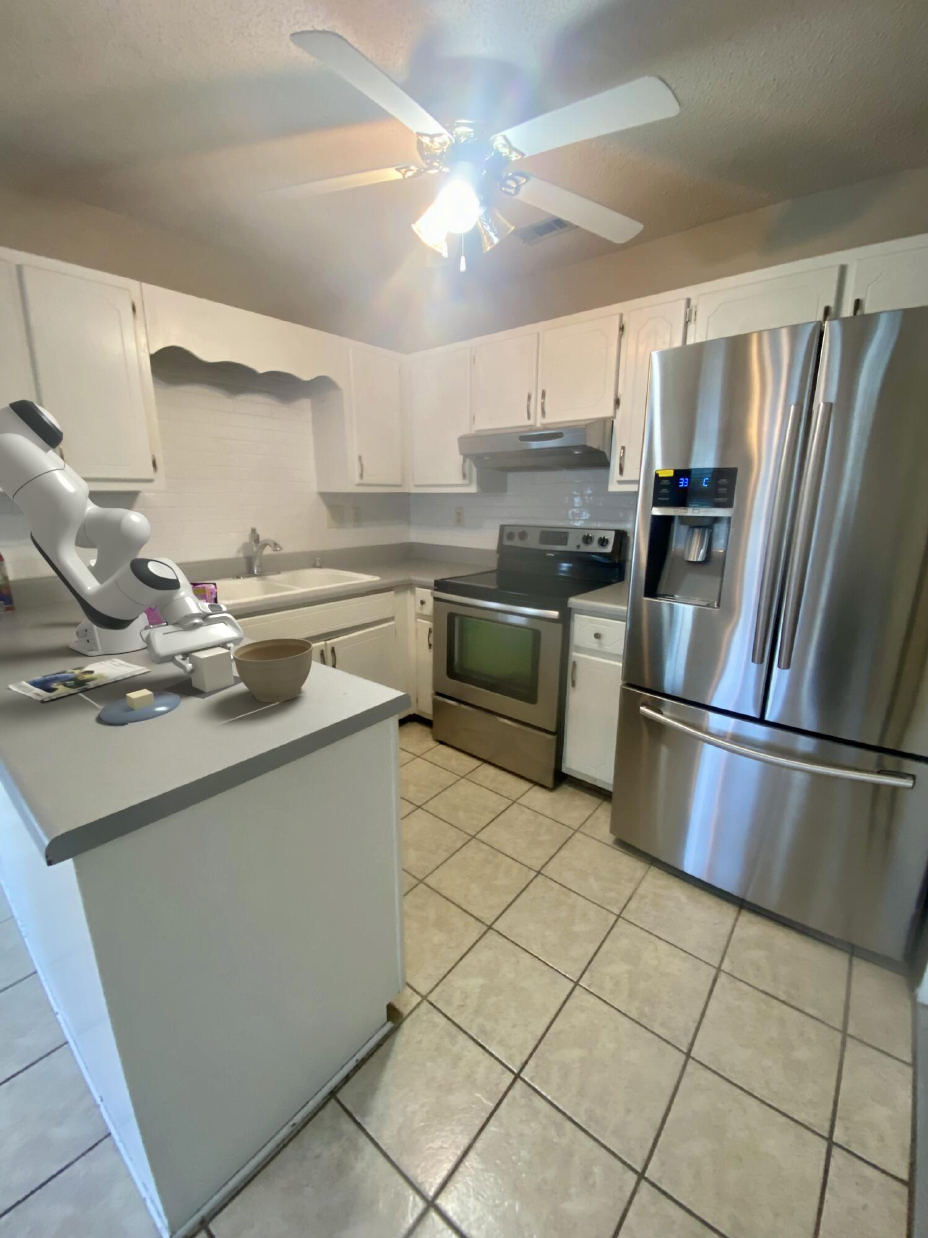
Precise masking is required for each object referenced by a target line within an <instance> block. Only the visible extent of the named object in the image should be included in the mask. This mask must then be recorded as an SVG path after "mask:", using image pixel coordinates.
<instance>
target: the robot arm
mask: <svg viewBox="0 0 928 1238" xmlns="http://www.w3.org/2000/svg"><path fill="white" fill-rule="evenodd" d="M63 439H64V432H63V431H62V429H61V425H60V424H59V422H58V420H57V419H56V417H55V416H54V415H53V414H51V413H50V411H48V410H47V409H46V408H44V407H43V406H41V405H39V404H36V403H35V402H34V401H31V400H28V399H20V400H17V401H16V400H15V401H12V402H10V403H8V406H6V407H5V406H4V407H2V408H0V489H1V490H2V491H3V492H4V493H5V494H6V495H7V496H8V497H9V498H10V499H11V500H12V501H13V503H15V504H16V505H17V506H18V507H19V509H20V510H21V511H22V513H23V514H24V516H25V518H26V521H27V522H28V525H29V528H30V534H29V536H30V540H31V542H32V544H33V545H34V547H35V548H36V550H37V551H38V552H39V554H40V555H41V557H42V558H43V559H44V561H46V563H47V564H48V565H49V567H50V568H51V570H53V572H54V573H55V574H56V576H57V577H58V578H59V579H60V581H61V582H62V583H63V585H64V587H66V588H67V590H69V592H70V593H71V594H72V596H73V597H74V598H75V600H76V602H77V603H78V604H79V606H80V608H81V610H82V612H83V613H84V615H85V618H84V619H83V620H82V621H81V622H80V623H79V624H78V625H77V627H76V630H75V635H76V637H77V640H75V641H73V642H70V643H68V648H69V649H72V650H74V651H77V652H79V653H81V654H84V656H85V655H86V656H88V657H92V656H93V657H94V656H101V655H113V654H121V653H122V654H123V653H127V652H135V651H138V650H142V649H145V648H147V651H148V654H149V658H150V661H151V662H153V663H154V664H155V665H156V664H157V665H163V664H166V663H170V662H172V663H173V665H174V666H176V667H177V668H179V669H180V670H182V671H183V673H184V674H185V676H188V675H191V674H193V673H194V667H193V665H192V664H189V663H186V662H185V661H184V660H183V659H186V658H187V657H189V656H188V652H193V651H197V650H201V649H205V648H209V647H214V646H218V647H220V648H223V649H226V650H229V651H231V660H232V664H233V663H234V664H235V660H234V658H233V652H234V649H235V648H234V647H236V646H239V645H240V644H241V643H242V642H243V639H244V637H245V633H244V630H243V629H242V628H241V625H240V624H239V623H238V622H237V619H235V617H234V616H233V615H231V614H230V613H227V612H228V608H227V606H226V605H224V604H222V603H218V604H213V603H206V602H200V601H199V599H198V598H197V597H196V596H195V595H194V594H193V591H192V587H191V585H190V583H191V582H189V580H188V578H187V577H186V575H185V574H184V572H183V571H182V570H181V568H180V567H179V566H178V565H177V564H176V563H175V562H174V561H173V560H172V559H170V558H167V557H154V558H146V557H139V554H140V552H141V550H142V548H143V547H145V545H146V544H147V543H148V542H149V541H150V538H151V534H152V529H151V524H150V522H149V519H147V518H146V516H145V515H143V514H142V513H141V512H139V511H138V512H137V511H134V510H130V509H127V508H122V507H118V508H117V507H116V508H115V507H100V506H98V505H97V504H95V503H93V502H92V500H91V499H90V498H89V495H90V487H89V485H88V483H87V481H85V480H84V479H83V478H82V476H80V475H79V474H78V473H77V472H76V471H75V470H74V469H73V468H72V467H71V466H70V465H69V464H68V463H67V462H66V461H64V460H63V459H62V457H60V456H59V455H58V454H57V453H56V452H54V451H53V450H55V449H56V448H57V447H58V446H59V445H60V444H61V443H62V442H63ZM52 449H53V450H52ZM76 547H78V548H82V549H91V550H93V549H94V550H96V549H97V555H96V559H97V560H96V563H95V565H94V566H93V567H91V568H90V569H89V570H88V568H87V567H88V566H86V564H85V563H84V562H83V561H82V559H81V558H80V557H79V555H78V553H77V550H76ZM152 605H156V606H157V607H158V609H159V614H160V617H161V619H162V621H163V622H164V623H159V624H155V625H149V623H148V620H147V616H146V614H145V613H144V611H145V610H147V609H148V608H149V607H150V606H152Z"/></svg>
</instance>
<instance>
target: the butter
mask: <svg viewBox="0 0 928 1238" xmlns="http://www.w3.org/2000/svg"><path fill="white" fill-rule="evenodd" d="M152 692H153V691H151V690H148V689H146V688H143V689H140V690H136V691H133V692H129V693H126V694H125V696H126V697H127V703H128V706H129V707H131V708H133V709H134V710H137V709H141V708H144V707H147V706H151V705H154V704H155V703H154V697H153V693H152Z"/></svg>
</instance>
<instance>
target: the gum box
mask: <svg viewBox="0 0 928 1238" xmlns="http://www.w3.org/2000/svg"><path fill="white" fill-rule="evenodd" d="M189 583H190V585H191V587H192V591H193V594H194V595H195V596H196V597H197V598H198V599H199V600H206V603H213V604H219V601H218V599H219V598H218V586H217V582H203V581H202V582H189ZM144 613H145V614H146V616H147V620H148V623H149V625H155V624H159V623H164V622H163V621H162V619H161V617H160V614H159V609H158V607H157V606H156V605H152V606H150V607H149V608H148V609H147V610H145V611H144Z"/></svg>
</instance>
